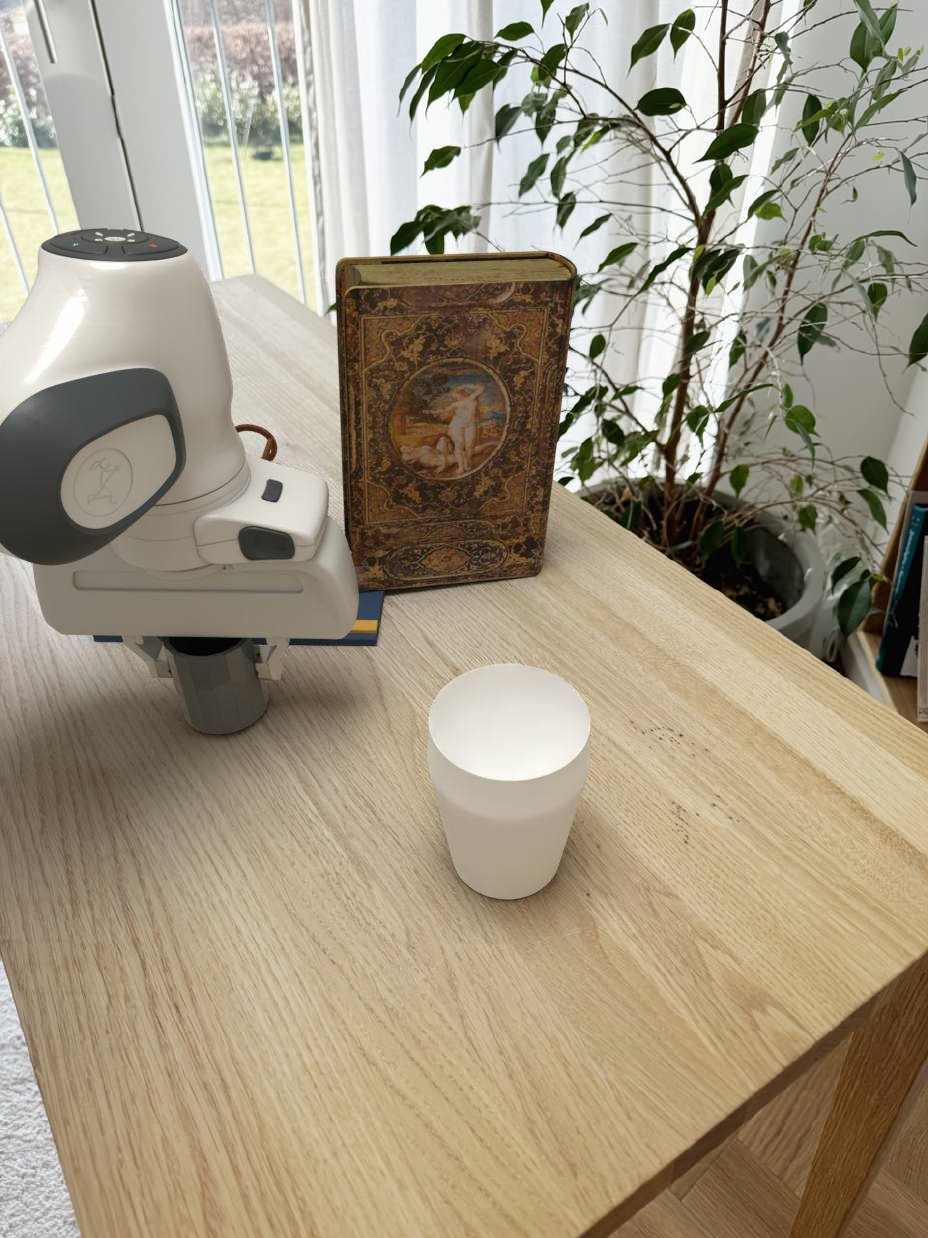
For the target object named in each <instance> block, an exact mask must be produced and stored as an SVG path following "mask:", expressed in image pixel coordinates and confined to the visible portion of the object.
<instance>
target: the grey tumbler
mask: <svg viewBox="0 0 928 1238" xmlns="http://www.w3.org/2000/svg"><path fill="white" fill-rule="evenodd" d="M162 640H163V642H162V643H163V645H164V649H165V653H166V656H167V660H168V663H169V667H170V670H171V674H172V677H173V678H172V680H173V684H174V687H175V692H176V694H177V699H178V701H179V705H180V710H181V712H182V715H183V717H184V719H185V721H186V722H187V724H188V725H189V726H191V727H192V728H193V729H195V730H196V731H198V732H201V733H204V734H210V735H224V734H225V735H226V734H231V733H235V732H239V731H241V730H243V729H245V728H247V727H249V726H251V725H253V724H254V723H255V722H256V721H258V720H259V718H261V717H262V715H263V714H264V713H265V711H266V709H267V707H268V705H269V690H268V685H267V680H260V679H258V678H257V674H258V672H257V671H256V668H255V661H256V659H257V656H259V654H258V652H259V647H260V644H258V639H257V638H242V637H178V636H162Z"/></svg>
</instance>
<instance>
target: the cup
mask: <svg viewBox="0 0 928 1238" xmlns="http://www.w3.org/2000/svg"><path fill="white" fill-rule="evenodd" d="M581 695H582V694H580V692H579V691H578V690H577V689H576V688H575V687H574V686H572V684H570V683H569V682H568V681H567V680H565V679H564V678H562V677H560V676H559V675H557V674H555V673H553V672H551V671H548V670H546V669H543V668H540V667H536V666H533V665H528V664H521V663H493V664H486V665H482V666H479V667H476V668H472V669H469V670H467V671H464V672H463V673H461V674H458V675H457V676H455V677H454V678H453V679H451V680H450V681H449V682H447V683H446V684H445V685H444V686H443V687H442V688H441V689H440V690H439V691H438V693H437V694H436V696H435V697H434V699H433V701H432V703H431V705H430V708H429V712H428V713H429V714H428V731H427V732H428V733H427V734H428V737H427V750H426V762H427V763H426V764H427V769H428V773H429V779H430V782H431V786H432V790H433V793H434V794H433V795H434V797H435V801H436V804H437V808H438V812H439V816H440V820H441V823H442V828H443V831H444V835H445V838H446V842H447V846H448V850H449V853H450V857H451V860H452V865H453V867H454V869H455V871H456V873H457V876H458V877H459V878H460V880H462V881H463V883H464V884H466V885H467V887H469V888H470V889H471V890H473V891H475V892H476V893H478V894H481V895H482V896H486V897H489V898H492V899H497V900H498V899H499V900H517V899H521V898H526V897H529V896H531V895H533V894H536V893H538V892H540V891H541V890H542V889H544V888H545V887H546V886H547V885H548V884H549V883H550V882H551V881H552V880H553V878H554V877H555V875H556V874H557V871H558V869H559V866H560V863H561V860H562V857H563V854H564V850H565V848H566V844H567V841H568V839H569V835H570V832H571V830H572V826H573V823H574V820H575V817H576V815H577V812H578V807H579V806H580V805H579V804H580V802H581V798H582V795H583V792H584V790H585V786H586V783H587V779H588V776H589V771H590V768H591V715H590V712H589V708H588V706H587V704H586V701H585V700H584V698H583V697H582V696H581Z"/></svg>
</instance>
